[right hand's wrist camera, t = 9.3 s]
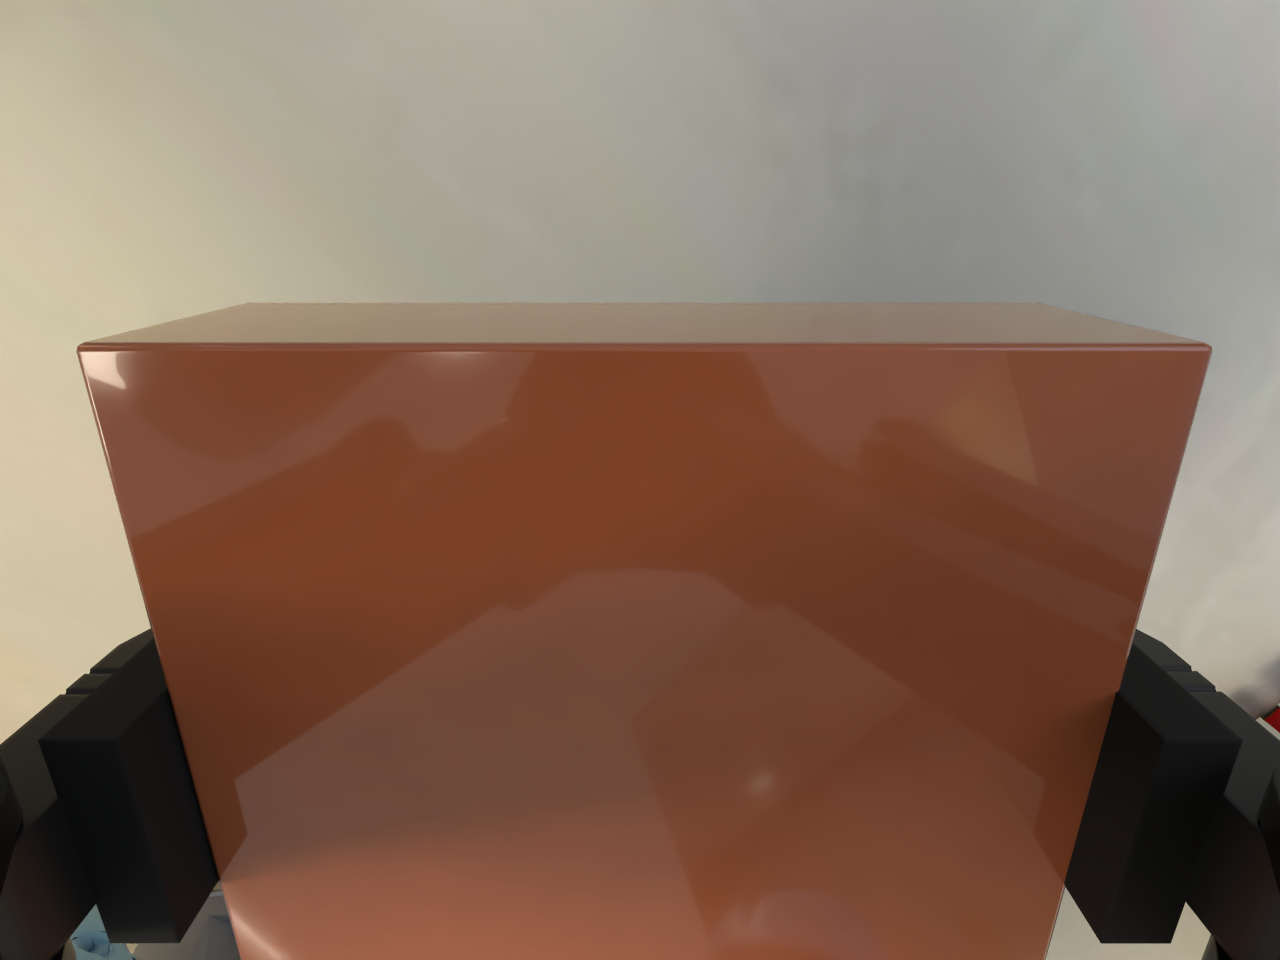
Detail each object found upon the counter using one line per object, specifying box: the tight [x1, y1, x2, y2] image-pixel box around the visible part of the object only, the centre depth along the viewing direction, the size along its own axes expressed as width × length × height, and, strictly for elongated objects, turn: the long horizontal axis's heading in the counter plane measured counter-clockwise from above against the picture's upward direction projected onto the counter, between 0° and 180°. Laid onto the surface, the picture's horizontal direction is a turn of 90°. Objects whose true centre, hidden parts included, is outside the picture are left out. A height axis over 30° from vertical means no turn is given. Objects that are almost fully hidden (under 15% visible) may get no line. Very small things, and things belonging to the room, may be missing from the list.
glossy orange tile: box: [77, 303, 1212, 960], centre depth 10 cm, size 10×10×4 cm
